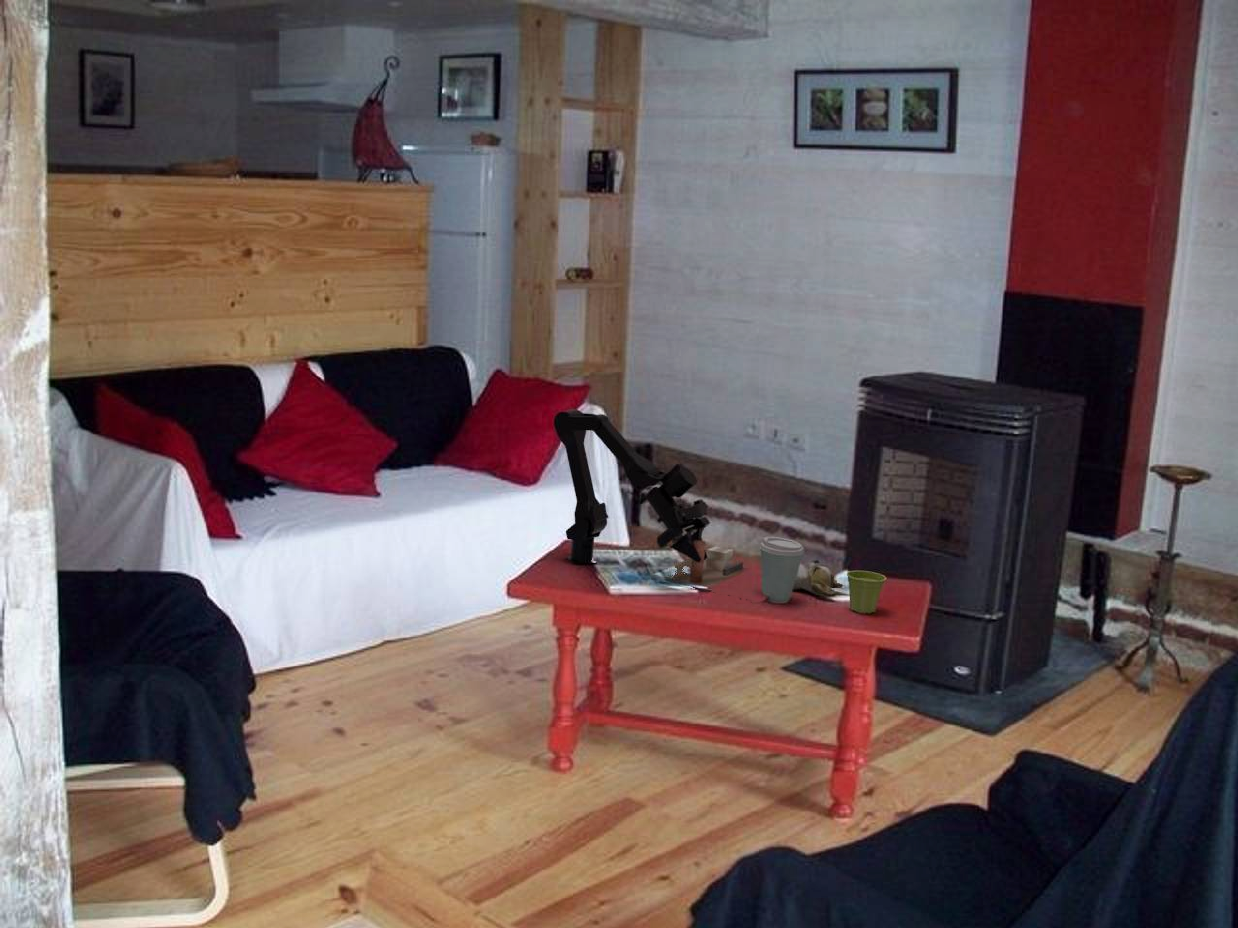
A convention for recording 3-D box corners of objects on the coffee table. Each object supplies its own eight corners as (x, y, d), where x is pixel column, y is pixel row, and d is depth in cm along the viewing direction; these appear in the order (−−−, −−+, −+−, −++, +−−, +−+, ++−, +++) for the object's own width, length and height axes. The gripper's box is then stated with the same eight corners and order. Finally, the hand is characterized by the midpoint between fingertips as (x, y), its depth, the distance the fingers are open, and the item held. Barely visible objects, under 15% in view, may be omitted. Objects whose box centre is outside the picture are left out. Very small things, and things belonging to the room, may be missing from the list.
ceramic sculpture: (799, 549, 362) (855, 564, 355) (794, 581, 364) (849, 597, 357) (782, 557, 353) (839, 572, 346) (777, 590, 355) (833, 606, 348)
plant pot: (840, 603, 348) (844, 568, 347) (879, 606, 348) (883, 572, 347) (845, 614, 339) (849, 578, 338) (884, 617, 339) (889, 582, 337)
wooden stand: (650, 579, 355) (654, 535, 353) (693, 561, 376) (697, 519, 374) (708, 592, 347) (712, 547, 345) (749, 573, 368) (753, 531, 366)
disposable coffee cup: (785, 593, 353) (792, 534, 350) (806, 606, 343) (813, 545, 341) (747, 594, 349) (753, 534, 347) (767, 607, 340) (773, 546, 337)
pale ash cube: (705, 568, 365) (707, 549, 364) (714, 564, 369) (715, 546, 368) (723, 572, 362) (725, 553, 361) (731, 568, 367) (733, 549, 366)
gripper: (672, 495, 342) (709, 548, 339) (706, 484, 358) (742, 535, 355) (640, 521, 347) (676, 574, 344) (675, 509, 363) (710, 560, 360)
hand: (702, 560), depth 350 cm, fingers closed on wooden stand, 3 cm apart
